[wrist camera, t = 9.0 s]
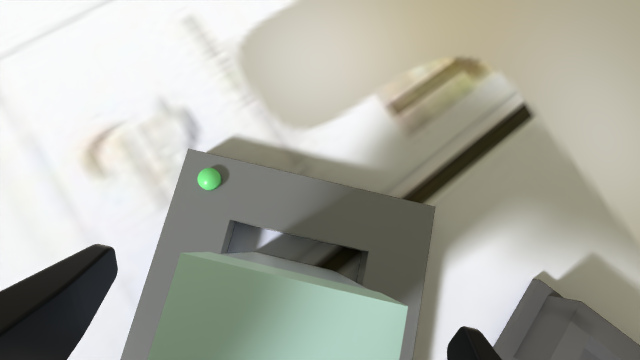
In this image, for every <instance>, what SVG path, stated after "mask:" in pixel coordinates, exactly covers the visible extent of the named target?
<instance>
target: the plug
mask: <svg viewBox="0 0 640 360" xmlns="http://www.w3.org/2000/svg"><path fill="white" fill-rule="evenodd" d="M407 310H408V306H406V305H404V304H402V303H400V302H398V301H396V300H394V299H392V298H390V297H388V296H386V295H384V294H382V293H380V292H376V291H372V290H369V289H367V288H365V287H363V286H361V285H360V284H358V283H356V282H354V281H352V280H350V279H348V278H347V277H345V276H343V275H341V274H339V273H337V272H335V271H333V270H329V269H325V268H321V267H317V266H312V265H308V264H304V263H300V262H296V261H291V260H287V259H283V258H279V257H275V256H270V255H266V254H262V253H258V252H242V253H227V254H216V253H212V252H190V253H181V254H180V257H179V261H178V264H177V267H176V270H175V273H174V276H173V280H172V283H171V286H170V289H169V292H168V295H167V299H166V302H165V305H164V308H163V311H162V314H161V318H160V321H159V324H158V327H157V330H156V334H155V337H154V340H153V343H152V346H151V349H150V353H149V356H148V359H147V360H399V358H400V352H401V346H402V340H403V334H404V328H405V322H406V316H407Z"/></svg>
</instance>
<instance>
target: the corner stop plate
mask: <svg viewBox="0 0 640 360" xmlns="http://www.w3.org/2000/svg"><path fill="white" fill-rule="evenodd" d="M493 348H494V350H495V351H496V352H497V354H498V355H499V356H500V357H501V359H502V360H640V345H638V344H637V343H636V342H634V341H633V340H632V339H630V338H629V337H628V336H626V335H625V334H624V333H622V332H621V331H620V330H618V329H617V328H616V327H614V326H613V325H612V324H611V323H609V322H608V321H607V320H605V319H604V318H603V317H601V316H600V315H599V314H597V313H596V312H595V311H593V310H592V309H591V308H589V307H588V306H587V305H585V304H584V303H583V302H581V301H576V300H570V299H565V298H563V297H562V296H561V295H559V294H558V293H557V292H555V291H554V290H553V289H551V288H550V287H549V286H547V285H546V284H545V283H543V282H542V281H541V280H537V279H533V280H532V282H531V283H530V285H529V287H528V289H527V290H526V292H525V294H524V295H523V297H522V299H521V301H520V302H519V304H518V306H517V308H516V309H515V311H514V313H513V314H512V316H511V318H510V320H509V321H508V323H507V325H506V326H505V328H504V330H503V332H502V333H501V335H500V337H499V339H498V340H497V342H496V344H495V345H494V347H493Z"/></svg>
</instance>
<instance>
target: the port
mask: <svg viewBox="0 0 640 360" xmlns="http://www.w3.org/2000/svg"><path fill="white" fill-rule="evenodd" d="M434 213H435V207H434V206H430V205H426V204H421V203H417V202H413V201H409V200H404V199H400V198H396V197H392V196H387V195H383V194H379V193H375V192H370V191H366V190H362V189H358V188H353V187H349V186H345V185H341V184H336V183H332V182H328V181H324V180H319V179H315V178H311V177H307V176H302V175H298V174H294V173H290V172H286V171H281V170H277V169H273V168H269V167H264V166H260V165H256V164H252V163H247V162H243V161H239V160H235V159H230V158H226V157H222V156H218V155H213V154H209V153H205V152H201V151H196V150H192V149H188V151H187V154H186V157H185V161H184V164H183V167H182V170H181V173H180V176H179V179H178V182H177V185H176V189H175V192H174V195H173V198H172V201H171V204H170V207H169V210H168V213H167V217H166V220H165V223H164V226H163V229H162V232H161V235H160V238H159V241H158V244H157V248H156V251H155V254H154V257H153V260H152V263H151V266H150V269H149V272H148V276H147V279H146V282H145V285H144V288H143V291H142V294H141V297H140V300H139V303H138V307H137V310H136V313H135V316H134V319H133V322H132V325H131V328H130V331H129V335H128V338H127V341H126V344H125V347H124V350H123V353H122V356H121V359H120V360H147V359H148V356H149V353H150V349H151V346H152V343H153V340H154V337H155V334H156V330H157V327H158V324H159V321H160V318H161V314H162V311H163V308H164V305H165V302H166V299H167V295H168V292H169V289H170V286H171V283H172V280H173V276H174V273H175V270H176V267H177V264H178V261H179V257H180V254H181V253H190V252H212V253H216V254H227V251H228V247H229V243H230V240H231V236H232V232H233V229H234V225H235V222H238V223H242V224H246V225H251V226H255V227H260V228H264V229H268V230H273V231H277V232H281V233H286V234H290V235H294V236H299V237H303V238H307V239H312V240H316V241H320V242H325V243H329V244H333V245H338V246H342V247H346V248H351V249H355V250H359V251H362V256H361V261H360V266H359V271H358V277H357V282H356V283H358V284H360V285H361V286H363V287H365V288H367V289H369V290H372V291H376V292H380V293H382V294H384V295H386V296H388V297H390V298H392V299H394V300H396V301H398V302H400V303H402V304H404V305H406V306H408V310H407V316H406V322H405V328H404V334H403V340H402V346H401V352H400V358H399V360H412V359H413V352H414V346H415V339H416V332H417V326H418V319H419V312H420V306H421V299H422V293H423V286H424V279H425V273H426V266H427V259H428V253H429V246H430V239H431V233H432V226H433V219H434Z"/></svg>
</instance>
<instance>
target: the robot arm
mask: <svg viewBox="0 0 640 360" xmlns="http://www.w3.org/2000/svg"><path fill="white" fill-rule="evenodd" d="M117 271H118V267H117V261H116V256H115V250H114V249H113V248H112V247H110V246H106V245H101V244H95V245H92V246H90V247H88V248H86V249H84V250H82V251H80V252H78V253H76V254H74V255H72V256H70V257H68V258H66V259H64V260H62V261H60V262H58V263H56V264H54V265H52V266H50V267H48V268H46V269H44V270H42V271H40V272H38V273H36V274H34V275H32V276H30V277H28V278H26V279H24V280H22V281H20V282H18V283H16V284H14V285H12V286H10V287H8V288H6V289H4V290H2V291H0V360H67V359H68V357H69V356H70V354H71V353H72V351H73V350H74V348H75V347H76V346H77V344H78V343H79V341H80V340H81V338H82V337H83V335H84V333H85V332H86V330H87V328H88V327H89V325H90V323H91V321H92V319H93V318H94V316H95V314H96V312H97V310H98V309H99V307H100V305H101V303H102V301H103V300H104V298H105V296H106V294H107V292H108V291H109V289H110V287H111V285H112V283H113V282H114V280H115V278H116V275H117ZM447 360H502V359H501V357H500V356H499V355H498V354H497V352H496V351H495V350H494V348H493V347H492V346H491V344H490V343H489V342H488V341H487V339H486V338H485V337H484V335H483V334H482V333H481V332H480V331H479V330H477V329H474V328H470V327H465V326H463V327H461V328H460V329H459V330H458V331H457V333H456V334H455V335H454V337H453V338H452V340H451V341H450V342H449V344H448V348H447Z"/></svg>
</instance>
